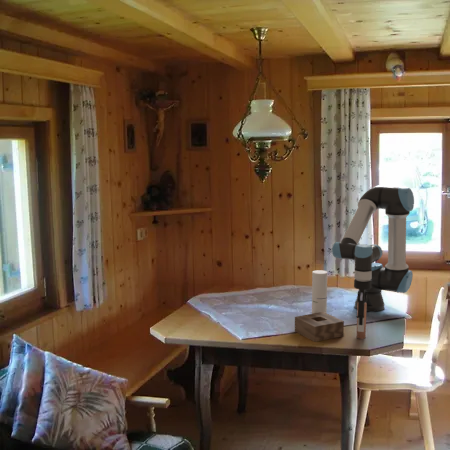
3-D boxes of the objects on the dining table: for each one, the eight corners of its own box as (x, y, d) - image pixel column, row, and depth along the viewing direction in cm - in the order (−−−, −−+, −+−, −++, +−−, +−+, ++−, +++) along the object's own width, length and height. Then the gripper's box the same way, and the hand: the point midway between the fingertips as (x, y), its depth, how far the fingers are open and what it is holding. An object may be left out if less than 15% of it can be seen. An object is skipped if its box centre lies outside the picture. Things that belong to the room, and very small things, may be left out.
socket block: (322, 325, 304) (323, 311, 302) (343, 336, 289) (343, 321, 288) (294, 331, 296) (294, 316, 295) (314, 341, 282) (314, 326, 281)
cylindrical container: (326, 324, 306) (327, 274, 301) (311, 323, 307) (311, 273, 303) (326, 319, 312) (327, 270, 308) (312, 319, 314) (312, 269, 310)
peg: (361, 335, 290) (362, 301, 288) (367, 337, 287) (368, 303, 284) (354, 336, 289) (355, 302, 286) (360, 339, 285) (361, 304, 282)
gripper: (355, 273, 294) (354, 321, 297) (352, 284, 275) (350, 335, 279) (372, 274, 292) (371, 322, 295) (370, 285, 273) (368, 336, 277)
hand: (361, 328), depth 287 cm, fingers open, 7 cm apart
